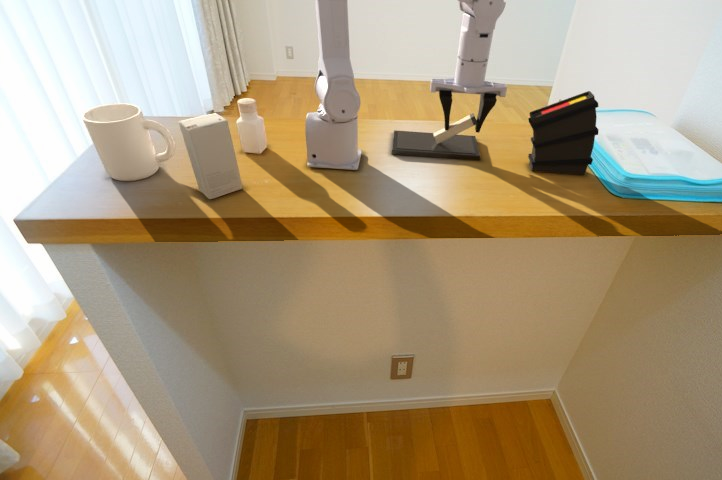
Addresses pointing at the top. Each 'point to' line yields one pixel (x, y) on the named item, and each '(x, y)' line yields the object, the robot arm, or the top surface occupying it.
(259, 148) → the pepper shaker
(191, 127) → the cosmetic box
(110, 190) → the top surface
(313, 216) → the top surface
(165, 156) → the mug
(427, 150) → the tray
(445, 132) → the cream rectangular bar
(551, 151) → the magazine
